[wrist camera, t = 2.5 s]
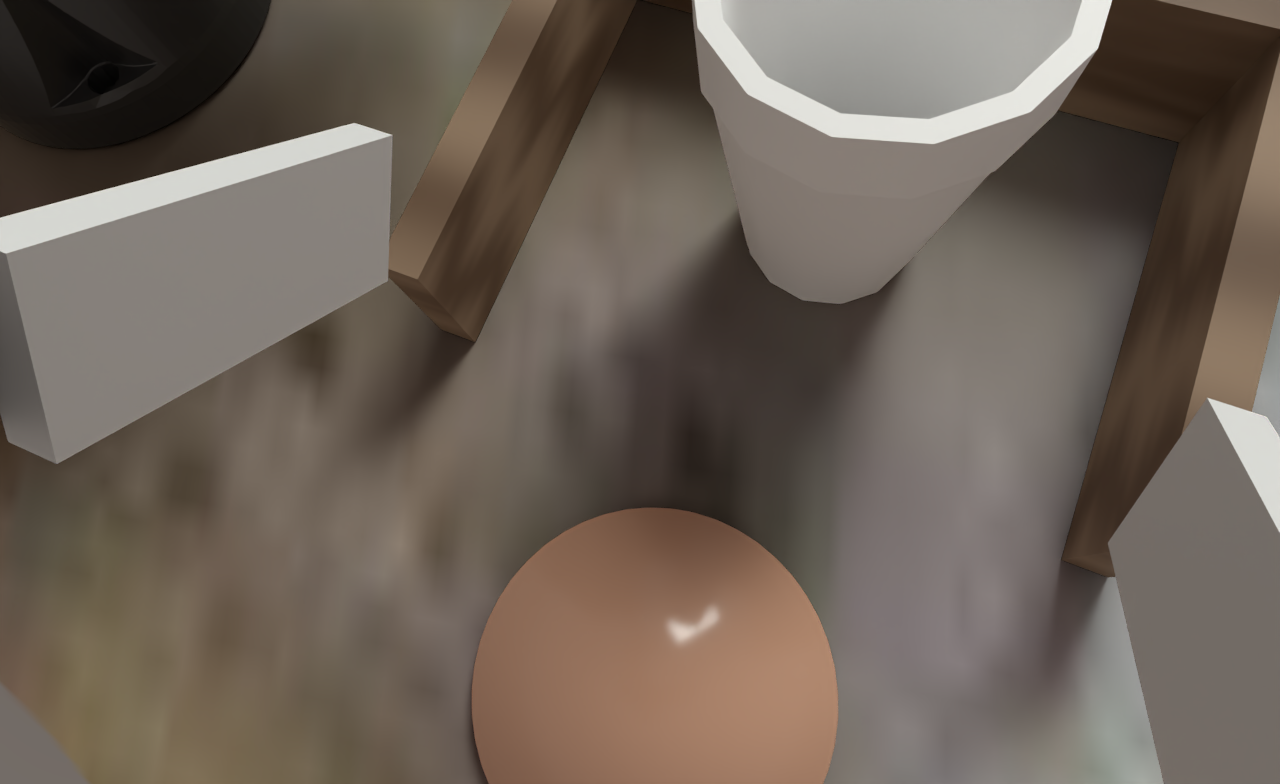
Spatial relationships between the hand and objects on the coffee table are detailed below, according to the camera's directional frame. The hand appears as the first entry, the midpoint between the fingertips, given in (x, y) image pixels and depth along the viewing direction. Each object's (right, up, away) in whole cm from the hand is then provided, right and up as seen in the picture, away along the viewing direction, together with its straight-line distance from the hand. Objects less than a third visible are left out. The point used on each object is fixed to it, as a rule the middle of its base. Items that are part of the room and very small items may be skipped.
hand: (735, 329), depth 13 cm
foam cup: (+6, +5, +18) cm, 20 cm away
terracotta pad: (-1, -11, +14) cm, 18 cm away
